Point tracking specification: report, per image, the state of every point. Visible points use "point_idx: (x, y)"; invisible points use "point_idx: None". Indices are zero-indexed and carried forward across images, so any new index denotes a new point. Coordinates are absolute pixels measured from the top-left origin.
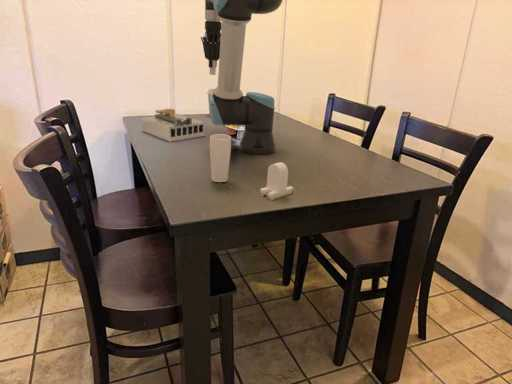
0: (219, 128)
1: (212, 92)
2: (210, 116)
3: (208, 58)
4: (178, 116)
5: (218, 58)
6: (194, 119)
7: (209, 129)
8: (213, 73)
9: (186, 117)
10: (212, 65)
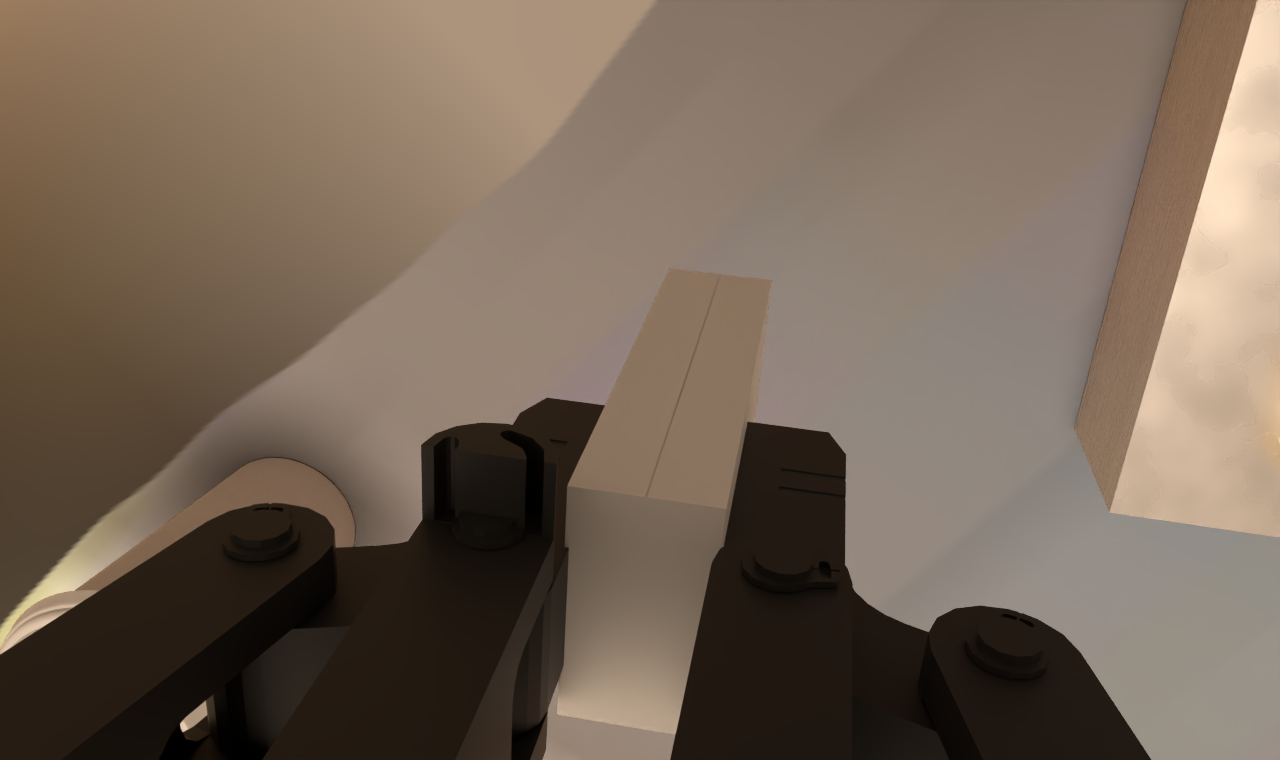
0: (701, 18)
1: (204, 703)
2: (353, 540)
3: (1054, 636)
4: (1255, 368)
5: (334, 533)
6: (1255, 57)
7: (858, 62)
8: (756, 293)
9: (1222, 247)
10: (742, 451)
